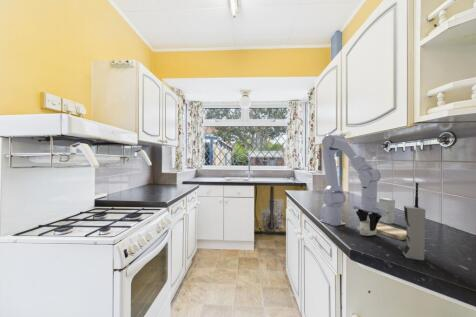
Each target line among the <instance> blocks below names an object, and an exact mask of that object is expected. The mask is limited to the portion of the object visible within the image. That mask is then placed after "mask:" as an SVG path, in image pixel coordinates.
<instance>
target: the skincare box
mask: <svg viewBox="0 0 476 317" xmlns="http://www.w3.org/2000/svg"><path fill="white" fill-rule="evenodd" d="M378 200H379V201H378V209H381V210H384V211H387V216H382V217H381V218H380V220H379V221H378V222H381V223H384V224H386V225H387V224H389V225H390V224H395V210H396V208H395V207H396V199H392V198H387V197H379V199H378Z"/></svg>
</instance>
